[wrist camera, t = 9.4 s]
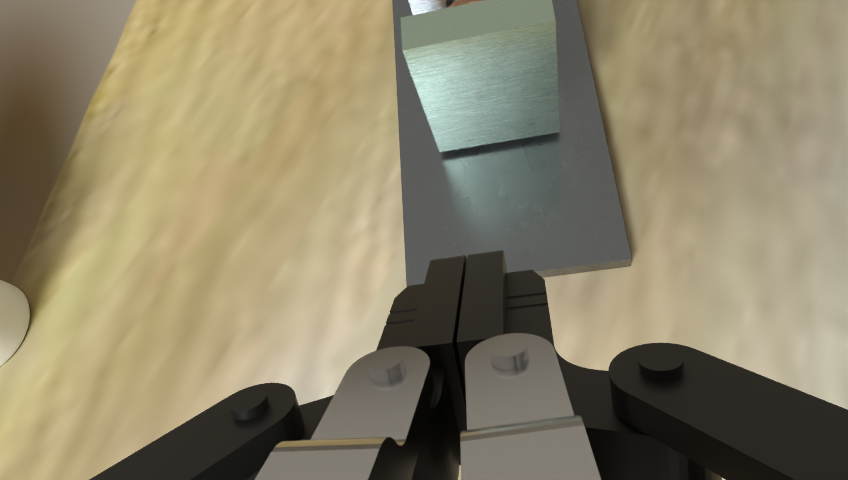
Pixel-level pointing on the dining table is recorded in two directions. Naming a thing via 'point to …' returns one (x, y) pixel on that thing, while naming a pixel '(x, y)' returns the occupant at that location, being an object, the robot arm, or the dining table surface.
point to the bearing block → (513, 177)
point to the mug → (12, 319)
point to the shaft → (485, 70)
